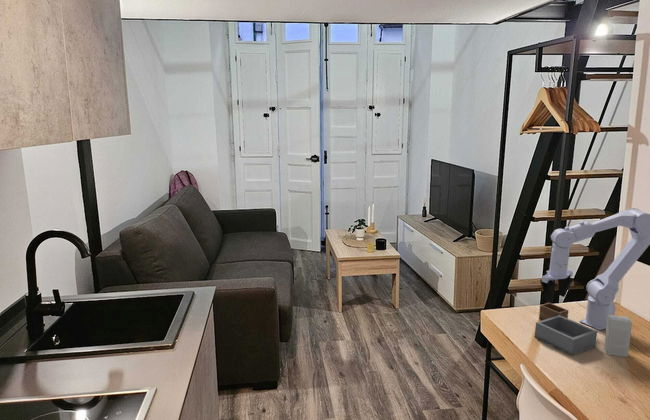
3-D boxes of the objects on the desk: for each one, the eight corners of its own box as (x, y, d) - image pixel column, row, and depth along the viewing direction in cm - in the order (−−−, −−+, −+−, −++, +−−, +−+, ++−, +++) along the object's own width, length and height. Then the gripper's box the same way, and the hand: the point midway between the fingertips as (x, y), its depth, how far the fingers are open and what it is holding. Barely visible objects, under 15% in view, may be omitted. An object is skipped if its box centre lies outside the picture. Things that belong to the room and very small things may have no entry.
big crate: (557, 329, 167) (559, 315, 166) (595, 346, 155) (597, 331, 154) (534, 337, 162) (535, 322, 161) (571, 355, 150) (573, 339, 149)
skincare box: (624, 351, 152) (629, 316, 150) (628, 357, 148) (632, 322, 146) (603, 348, 154) (607, 314, 152) (606, 354, 150) (610, 319, 148)
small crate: (547, 316, 178) (549, 302, 177) (567, 324, 171) (568, 310, 170) (538, 318, 176) (540, 305, 175) (557, 327, 169) (559, 313, 168)
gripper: (562, 256, 175) (557, 290, 178) (536, 262, 169) (532, 297, 172) (579, 261, 169) (575, 296, 172) (553, 267, 163) (549, 304, 165)
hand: (554, 297), depth 171 cm, fingers open, 7 cm apart
